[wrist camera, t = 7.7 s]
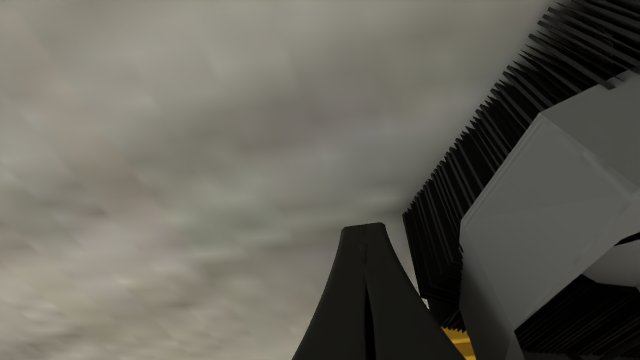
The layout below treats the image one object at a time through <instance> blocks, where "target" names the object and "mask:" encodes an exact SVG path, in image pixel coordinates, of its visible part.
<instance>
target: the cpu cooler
mask: <svg viewBox="0 0 640 360" xmlns="http://www.w3.org/2000/svg"><path fill="white" fill-rule="evenodd" d="M572 1H574V2H575V3H577V4H579V5H580V6H582V7H584V8H585V9H587V10H589V11H590V12H592V13H594V14H596V15H597V16H599V17H601V18H602V19H604V20H606V21H607V22H609V23H607V22H605V21H602V20H600V19H597V18H595V17H592V16H589V15H587V14H584V13H582V12H579V11H577V10H574V9H571V8H569V7H566V6H564V5H561V4H559V3H557V4H559V5H561V6H562V7H564V8H566V9H568V10H570V11H571V12H573V13H575V14H577V15H579V16H580V17H582V18H584V19H586V20H587V21H589V22H591V23H593V24H595V25H596V26H598V27H600V28H602V29H604V30H605V31H607V32H609V33H611V34H613V38H612V37H610V36H608V35H606V34H604V33H602V32H600V31H598V30H596V29H593V28H591V27H589V26H587V25H585V24H583V23H581V22H579V21H577V20H575V19H573V18H571V17H569V16H567V15H565V14H563V13H561V12H559V11H557V10H555V9H553V8H551V7H549V8H548V10H547V11H549V12H551V13H553V14H555V15H557V16H559V17H561V18H563V19H565V20H567V21H569V22H571V23H573V24H575V25H577V26H579V27H581V28H583V29H585V30H587V31H589V32H591V33H593V34H595V35H597V36H599V37H601V38H603V39H605V40H607V41H609V42H611V43H613V48H612V47H610V46H608V45H606V44H604V43H602V42H599V41H597V40H595V39H593V38H591V37H589V36H587V35H585V34H583V33H581V32H579V31H577V30H575V29H573V28H571V27H569V26H567V25H565V24H563V23H561V22H559V21H557V20H555V19H553V18H551V17H549V16H547V15H545V14H544V15H543V17H542V18H544V19H546V20H547V21H549V22H551V23H553V24H555V25H557V26H559V27H561V28H563V29H565V30H567V31H569V32H571V33H573V34H574V35H576V36H578V37H580V38H582V39H584V40H586V41H588V42H590V43H592V44H594V45H596V46H598V47H600V48H602V49H603V50H605V51H607V52H609V53H611V54H613V56H611V55H609V54H607V53H605V52H603V51H601V50H599V49H597V48H595V47H593V46H590V45H588V44H586V43H584V42H582V41H580V40H578V39H576V38H574V37H572V36H570V35H568V34H566V33H564V32H562V31H560V30H558V29H556V28H554V27H552V26H550V25H548V24H546V23H544V22H542V21H539V22H538V24H539V25H541V26H543V27H544V28H546V29H548V30H550V31H552V32H554V33H556V34H558V35H560V36H562V37H564V38H566V39H567V40H569V41H571V42H573V43H575V44H577V45H579V46H581V47H583V48H585V49H587V50H589V51H590V52H592V53H594V54H596V55H598V56H600V57H602V58H604V59H606V60H608V61H610V62H612V63H613V66H612V65H611V64H608V63H606V62H604V61H602V60H600V59H597V58H595V57H593V56H591V55H589V54H587V53H584V52H582V51H580V50H578V49H576V48H573V47H571V46H569V45H567V44H565V43H562V42H560V41H558V40H556V39H554V38H551V37H549V36H547V35H545V34H543V33H541V34H542V35H544V36H546V37H547V38H549V39H551V40H553V41H554V42H556V43H558V44H559V45H561V46H563V47H564V48H566V49H568V50H570V51H571V52H573V53H575V54H576V55H578V56H580V57H581V58H583V59H581V58H579V57H577V56H575V55H573V54H571V53H569V52H567V51H565V50H563V49H561V48H559V47H557V46H554V45H552V44H550V43H548V42H546V41H544V40H542V39H540V38H538V37H536V36H534V35H532V34H530V35H529V38H530V39H532V40H533V41H535V42H536V43H538V44H539V45H541V46H542V47H544V48H546V49H547V50H549V51H550V52H552V53H553V54H555V55H556V56H558V57H559V58H561V59H562V60H560V59H558V58H556V57H553V56H551V55H549V54H546V53H544V52H542V51H540V50H537V49H535V48H533V47H530V46H528V45H527V46H528V47H530V48H531V49H533V50H534V51H536V52H537V53H539V54H540V55H542V56H543V57H545V58H547V59H548V60H550V61H551V62H553V63H554V64H552V63H550V62H548V61H545V60H543V59H541V58H538V57H536V56H534V55H532V54H529V53H527V52H525V51H522V50H521V51H522V52H524V53H525V54H526V55H528V56H529V57H530V58H532V59H533V60H531V59H529V58H527V57H525V56H523V55H521V54H519V53H518V54H519V55H520V56H521V57H523V58H524V59H525V60H526V61H527V62H529V63H530V64H531V65H532V66H533V67H534V68H536V69H537V70H538V71H539V72H537V71H535V70H533V69H531V68H528V67H526V66H524V65H521V64H519V63H517V62H515V61H513V62H514V63H515V64H517V65H518V66H519V67H520V68H521V69H522V70H523V71H524V72H523V71H521V70H519V69H516V68H514V67H512V66H510V65H508V66H507V69H508V70H509V71H510V72H511V73H513V74H514V75H515V76H514V75H512V74H510V73H508V72H505V71H504V72H503V73H502V74H503V75H504V76H505V77H506V78H507V79H508V80H509V81H510V82H511V83H512V84H513V85H514V86H513V85H511V84H508V83H506V82H503V81H501V80H499V79H498V80H499V81H501V82H502V83H503V84H504V85H505V86H506V87H505V86H503V85H501V84H499V83H495V87H496V88H497V89H498V90H499V91H498V90H495V89H493V88H492V89H491V90H490V91H491V92H492V93H493V95H494V96H495V97H496V98H497V99H498V100H497V99H494V98H492V97H489V96H488V98H489V99H490V100H491V101H492V103H490V102H488V101H486V100H484V101H485V102H486V103H487V105H488V106H489V107H490V108H489V107H487V106H485V105H483V104H480V106H479V107H480V108H481V109H482V111H481V110H478V109H477V110H476V111H475V112H476V113H477V115H478V116H479V118H480V119H479V118H476V117H474V116H473V118H474V119H475V121H476V122H477V123H476V122H473V121H471V120H470V122H471V123H472V125H473V127H474V128H475V129H472V128H469V127H467V126H465V127H466V128H467V130H468V132H469V133H470V134H468V133H466V132H463V131H462V132H463V134H464V135H465V136H464V135H462V134H460V135H461V137H462V139H463V140H461V139H459V138H456V140H455V141H456V143H454V144H455V146H456V148H457V149H454V148H452V147H450V148H449V151H450V153H449V152H446V156H447V157H445V156H444V158H445V160H446V162H444V161H442V160H441V161H440V162H439V163H440V165H441V166H440V165H437V166H436V167H437V169H434V173H435V174H434V173H431V177H432V179H433V180H431V179H428V180H429V182H428V181H426V182H425V184H426V185H423V189H424V190H421V193H420V192H418V193H417V195H418V197H417V196H415V197H414V198H415V201H416V202H415V201H412V202H413V204H411V203H410V204H411V208H412V209H409V208H407V209H408V213H407V212H405V214H404V213H403V214H402V216H403V221H404V225H405V230H406V234H407V239H408V243H409V248H410V252H411V257H412V261H413V266H414V270H415V275H416V279H417V284H418V288H419V293H420V297H421V298H424V299H427V301H428V305H429V310H430V312H431V314H432V315H433V317H434V318H435V319H436V321H437V322H438V324H439V325H440V326H441V327H443V328H444V329H446V328H448V330H451V329H452V328H453V331H454V330H455V329H456V328H457V331H458V332H459V331H460V330H462V334H463V333H464V332H465V331H466V332H467V335H468V336H469V339H470V342H471V345H472V348H473V352H474V355H475V358H476V360H640V0H605V1H603V0H584V1H586V2H588V3H586V2H583V1H580V0H572ZM606 1H607V2H606ZM555 3H556V2H555ZM610 23H611V24H610ZM537 32H538V31H537ZM539 33H540V32H539ZM525 45H526V44H525ZM584 59H585V60H584ZM563 60H564V61H563ZM586 60H587V61H586ZM555 64H556V65H555ZM525 72H526V73H525Z"/></svg>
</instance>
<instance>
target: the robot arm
mask: <svg viewBox="0 0 640 360" xmlns="http://www.w3.org/2000/svg"><path fill="white" fill-rule="evenodd" d="M292 360H466V359H465V358H464V356H463V355H462V354H461V353H460V351H459V350H458V349H457V348H456V346H455V345H454V344H453V342H452V341H451V340H450V338H449V337H448V336H447V335H446V333H445V332H444V331H443V329H442V328H441V326H440V325H439V324H438V322H437V321H436V319H435V318H434V317H433V315H432V314H431V312H430V311H429V309H428V308H427V306H426V305H425V303H424V302H423V300H422V299H421V297H420V296H419V294H418V292H417V291H416V289H415V288H414V286H413V284H412V283H411V281H410V279H409V277H408V276H407V274H406V272H405V271H404V269H403V267H402V265H401V263H400V261H399V259H398V257H397V255H396V253H395V251H394V249H393V247H392V245H391V242H390V240H389V237H388V234H387V231H386V227H385V225H384V224H383V223H381V222H378V223H371V224H363V225H356V226H348V227H344V228H343V229H342V230H341V236H340V241H339V246H338V249H337V253H336V257H335V260H334V263H333V266H332V269H331V272H330V275H329V278H328V281H327V283H326V286H325V289H324V292H323V294H322V297H321V299H320V301H319V304H318V306H317V308H316V311H315V313H314V315H313V318H312V320H311V322H310V325H309V327H308V329H307V331H306V333H305V335H304V337H303V339H302V341H301V343H300V345H299V347H298V349H297V351H296V353H295V355H294V356H293V358H292Z"/></svg>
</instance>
